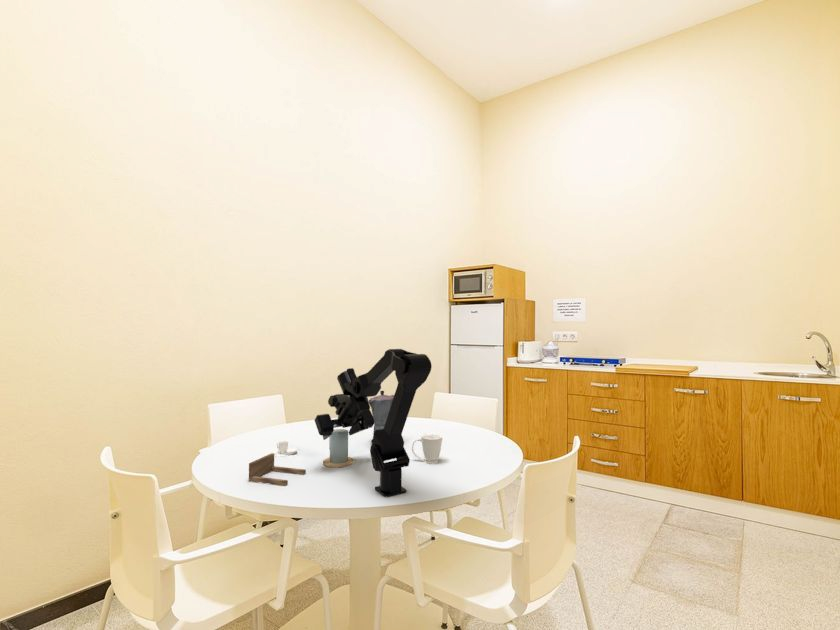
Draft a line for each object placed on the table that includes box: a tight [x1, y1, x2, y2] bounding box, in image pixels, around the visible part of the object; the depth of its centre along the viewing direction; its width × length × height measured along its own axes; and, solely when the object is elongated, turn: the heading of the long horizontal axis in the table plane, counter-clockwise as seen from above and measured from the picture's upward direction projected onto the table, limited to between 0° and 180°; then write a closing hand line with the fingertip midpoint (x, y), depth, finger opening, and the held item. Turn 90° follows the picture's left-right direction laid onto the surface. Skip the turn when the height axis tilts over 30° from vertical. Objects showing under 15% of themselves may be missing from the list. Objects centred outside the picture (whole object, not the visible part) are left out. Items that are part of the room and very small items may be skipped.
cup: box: [411, 433, 443, 464], centre depth 137 cm, size 7×10×8 cm
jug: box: [328, 428, 349, 464], centre depth 137 cm, size 9×6×10 cm, turn 38°
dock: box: [248, 452, 307, 487], centre depth 122 cm, size 12×10×5 cm
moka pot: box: [368, 390, 395, 435], centre depth 159 cm, size 10×15×20 cm, turn 135°
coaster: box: [322, 456, 355, 468], centre depth 136 cm, size 10×10×1 cm
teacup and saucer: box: [271, 440, 299, 457], centre depth 146 cm, size 9×8×4 cm
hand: (336, 436), depth 137 cm, fingers open, 9 cm apart
